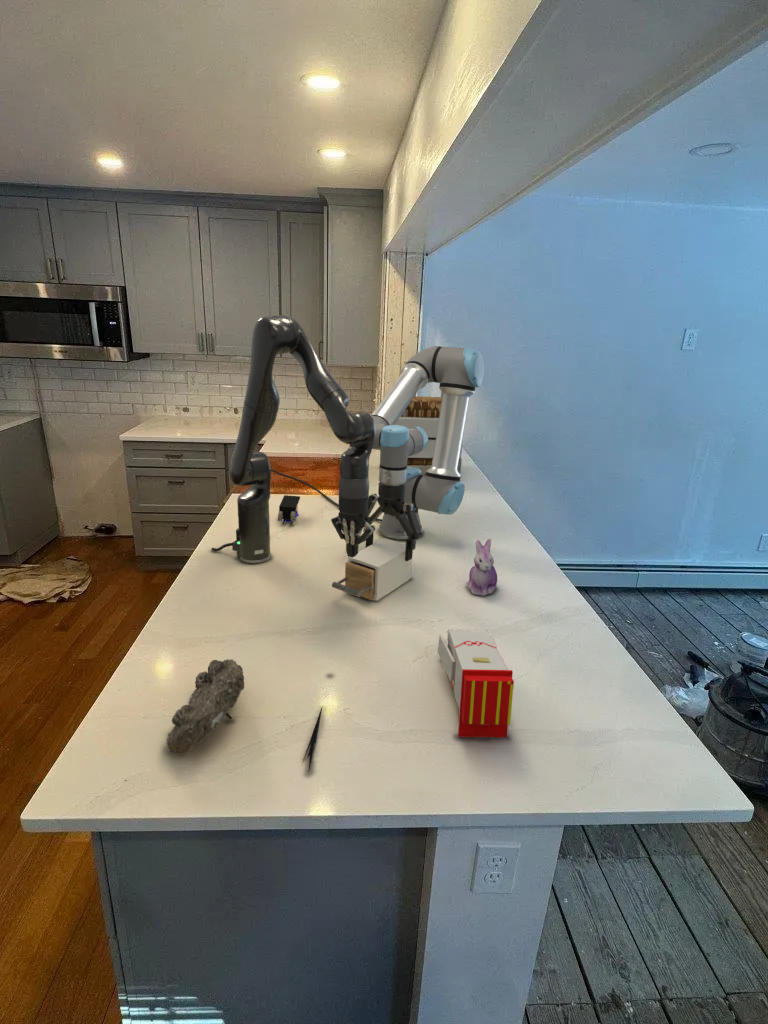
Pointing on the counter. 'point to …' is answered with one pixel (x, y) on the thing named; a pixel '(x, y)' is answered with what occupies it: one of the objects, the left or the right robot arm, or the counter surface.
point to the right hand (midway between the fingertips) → (388, 553)
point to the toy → (478, 682)
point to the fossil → (206, 705)
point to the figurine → (483, 571)
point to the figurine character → (288, 509)
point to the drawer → (357, 580)
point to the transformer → (424, 427)
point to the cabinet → (385, 565)
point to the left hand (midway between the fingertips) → (352, 556)
